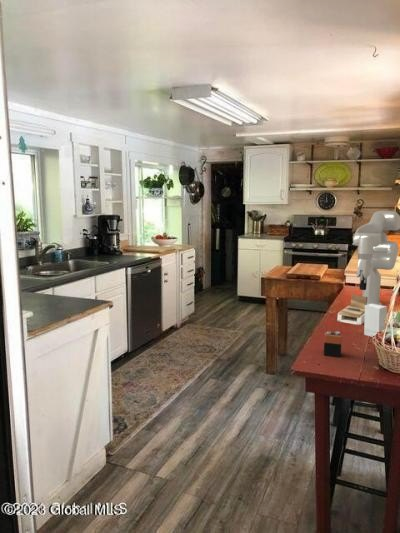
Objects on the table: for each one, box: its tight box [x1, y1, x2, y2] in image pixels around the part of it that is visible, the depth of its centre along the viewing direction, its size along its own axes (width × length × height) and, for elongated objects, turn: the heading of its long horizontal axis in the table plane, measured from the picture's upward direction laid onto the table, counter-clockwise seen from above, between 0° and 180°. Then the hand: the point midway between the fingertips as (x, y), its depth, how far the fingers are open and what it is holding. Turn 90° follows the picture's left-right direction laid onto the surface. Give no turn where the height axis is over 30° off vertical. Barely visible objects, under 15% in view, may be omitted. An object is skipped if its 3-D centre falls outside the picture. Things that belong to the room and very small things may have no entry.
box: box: [336, 305, 365, 326], centre depth 231 cm, size 18×12×4 cm, turn 144°
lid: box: [339, 294, 367, 318], centre depth 230 cm, size 17×10×8 cm, turn 144°
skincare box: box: [363, 304, 388, 338], centre depth 203 cm, size 8×6×15 cm
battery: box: [323, 330, 343, 358], centre depth 180 cm, size 4×7×10 cm, turn 71°
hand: (362, 289), depth 239 cm, fingers closed
